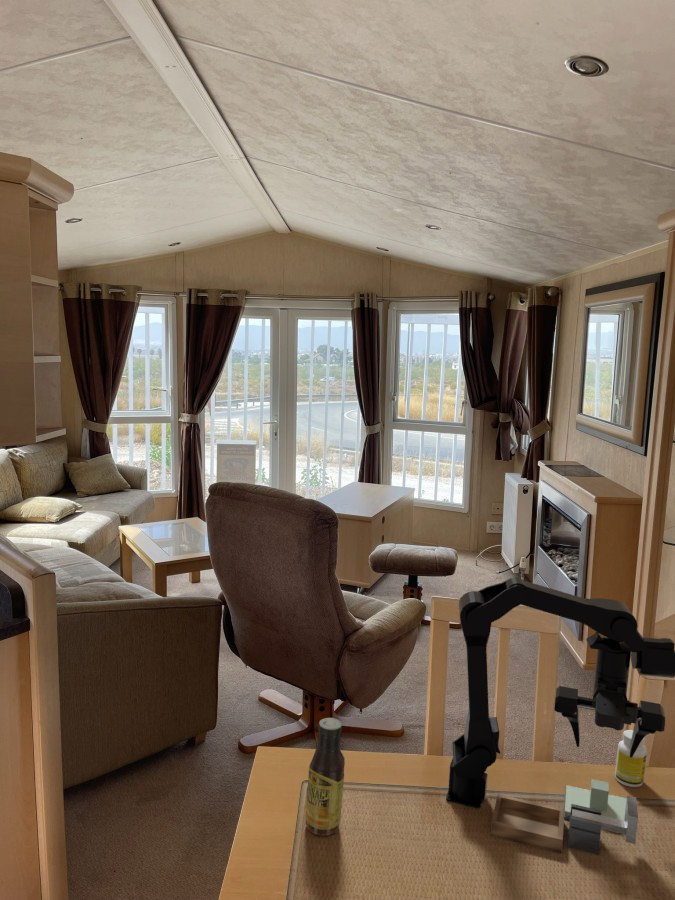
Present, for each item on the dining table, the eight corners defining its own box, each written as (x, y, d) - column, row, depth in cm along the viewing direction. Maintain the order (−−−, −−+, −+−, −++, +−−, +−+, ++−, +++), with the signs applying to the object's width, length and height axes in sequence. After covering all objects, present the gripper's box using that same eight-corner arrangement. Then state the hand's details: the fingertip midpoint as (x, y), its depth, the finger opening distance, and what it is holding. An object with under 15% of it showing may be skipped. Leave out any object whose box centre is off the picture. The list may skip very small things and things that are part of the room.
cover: (564, 814, 135) (566, 790, 135) (566, 788, 143) (568, 766, 143) (632, 830, 132) (634, 805, 131) (629, 803, 140) (632, 779, 139)
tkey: (571, 828, 126) (573, 803, 125) (572, 808, 132) (574, 783, 131) (635, 844, 123) (638, 817, 122) (633, 822, 128) (636, 797, 128)
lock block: (567, 847, 127) (570, 819, 126) (568, 829, 132) (571, 802, 131) (598, 855, 126) (601, 826, 125) (598, 836, 130) (601, 809, 130)
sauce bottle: (297, 826, 130) (301, 721, 127) (322, 811, 134) (326, 709, 131) (324, 844, 125) (329, 736, 122) (349, 828, 130) (354, 722, 127)
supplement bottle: (645, 790, 145) (651, 743, 143) (616, 785, 146) (621, 739, 145) (640, 774, 150) (645, 729, 149) (612, 770, 151) (617, 726, 150)
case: (490, 835, 129) (491, 822, 129) (496, 806, 138) (497, 793, 137) (561, 853, 126) (562, 840, 125) (563, 821, 134) (564, 809, 134)
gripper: (556, 680, 129) (549, 762, 131) (672, 700, 123) (662, 786, 126) (559, 655, 140) (552, 732, 142) (666, 673, 134) (657, 753, 136)
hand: (604, 751), depth 136 cm, fingers open, 9 cm apart
